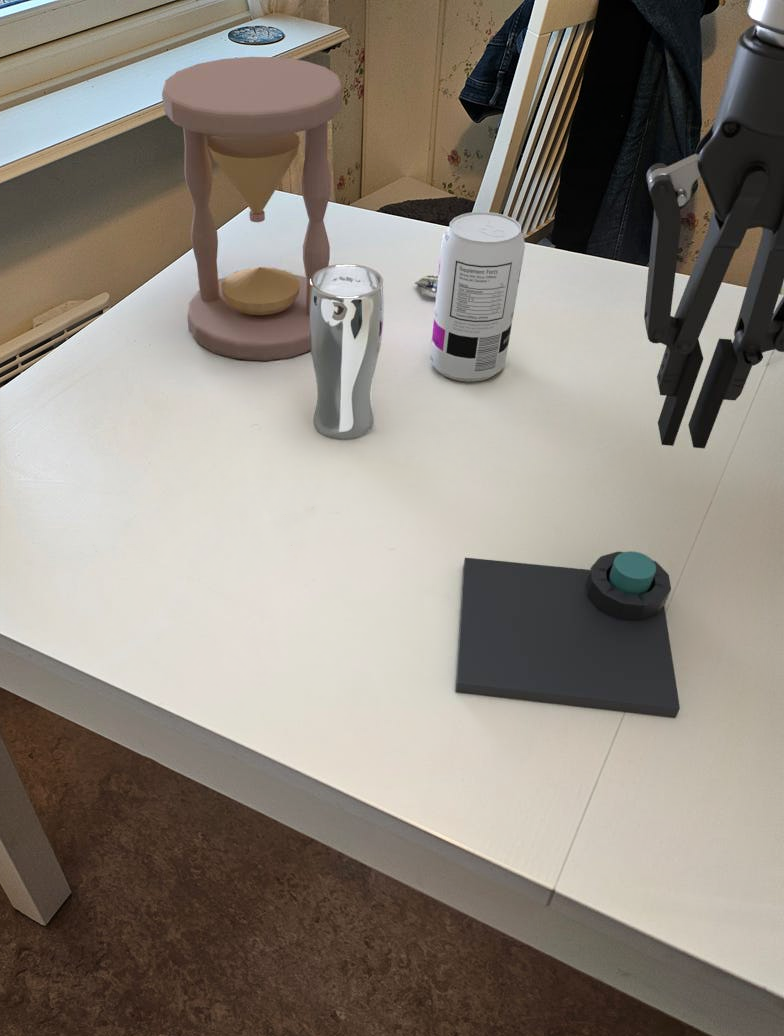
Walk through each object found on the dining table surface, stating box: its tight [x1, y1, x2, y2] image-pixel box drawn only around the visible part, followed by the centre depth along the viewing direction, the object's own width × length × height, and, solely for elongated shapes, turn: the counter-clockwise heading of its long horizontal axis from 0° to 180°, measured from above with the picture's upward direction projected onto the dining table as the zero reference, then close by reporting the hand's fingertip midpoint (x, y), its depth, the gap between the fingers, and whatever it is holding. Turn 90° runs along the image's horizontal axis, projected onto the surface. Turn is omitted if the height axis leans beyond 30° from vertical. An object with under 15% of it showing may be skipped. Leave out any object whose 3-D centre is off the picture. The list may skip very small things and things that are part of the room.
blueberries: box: [414, 275, 438, 298], centre depth 110 cm, size 7×8×2 cm
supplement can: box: [429, 211, 526, 383], centre depth 93 cm, size 8×8×15 cm
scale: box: [454, 551, 681, 719], centre depth 70 cm, size 16×15×3 cm
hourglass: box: [161, 56, 343, 361], centre depth 97 cm, size 18×18×25 cm
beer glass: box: [308, 263, 384, 440], centre depth 86 cm, size 7×7×15 cm
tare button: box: [609, 551, 656, 594], centre depth 71 cm, size 3×3×2 cm
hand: (680, 434), depth 62 cm, fingers closed
